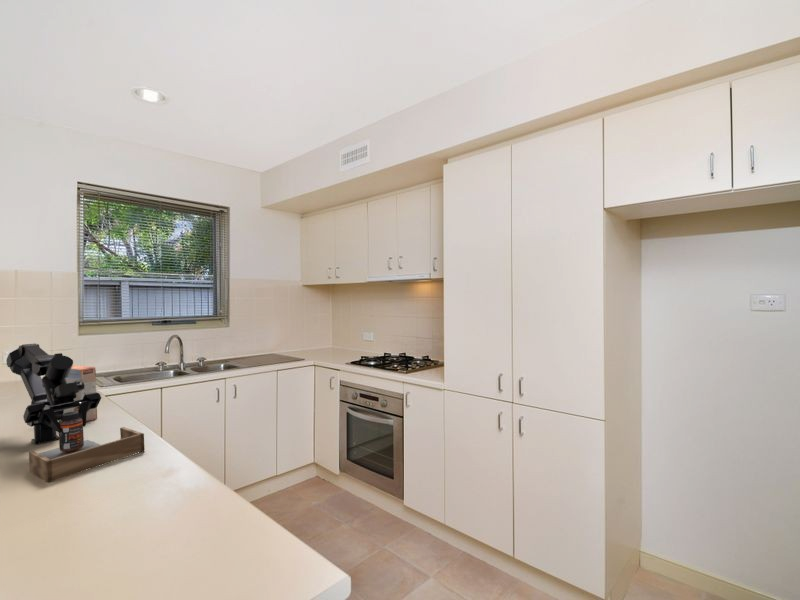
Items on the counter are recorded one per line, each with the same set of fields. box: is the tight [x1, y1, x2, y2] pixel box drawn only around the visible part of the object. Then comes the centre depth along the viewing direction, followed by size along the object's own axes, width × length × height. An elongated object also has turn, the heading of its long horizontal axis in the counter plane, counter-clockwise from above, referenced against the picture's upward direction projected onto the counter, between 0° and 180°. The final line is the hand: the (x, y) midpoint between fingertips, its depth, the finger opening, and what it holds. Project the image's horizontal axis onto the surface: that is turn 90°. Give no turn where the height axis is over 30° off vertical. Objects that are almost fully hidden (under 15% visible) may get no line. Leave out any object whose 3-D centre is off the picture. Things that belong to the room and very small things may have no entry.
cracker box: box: [63, 365, 98, 423], centre depth 164 cm, size 14×6×21 cm, turn 65°
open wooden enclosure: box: [28, 426, 145, 483], centre depth 122 cm, size 13×24×6 cm, turn 148°
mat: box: [37, 439, 101, 459], centre depth 129 cm, size 14×14×1 cm
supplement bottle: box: [58, 411, 85, 452], centre depth 128 cm, size 6×6×11 cm
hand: (72, 428), depth 128 cm, fingers closed on supplement bottle, 6 cm apart
